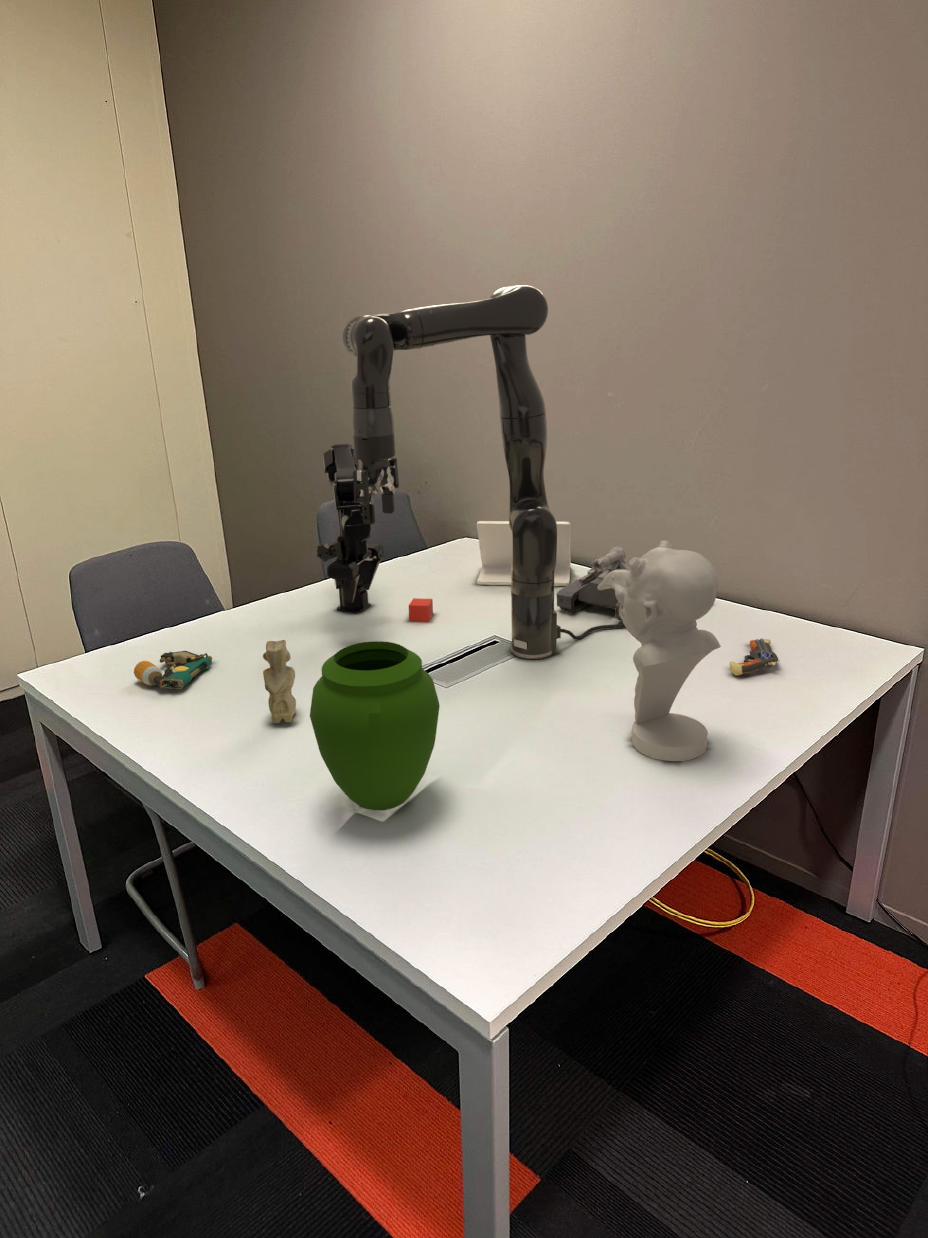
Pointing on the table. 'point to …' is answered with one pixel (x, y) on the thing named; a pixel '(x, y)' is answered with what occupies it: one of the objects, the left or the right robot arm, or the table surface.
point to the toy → (594, 585)
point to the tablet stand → (500, 553)
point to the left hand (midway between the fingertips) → (358, 596)
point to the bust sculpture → (666, 643)
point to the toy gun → (756, 658)
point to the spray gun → (172, 669)
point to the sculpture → (279, 681)
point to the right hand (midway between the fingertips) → (379, 518)
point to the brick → (421, 610)
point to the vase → (375, 722)
